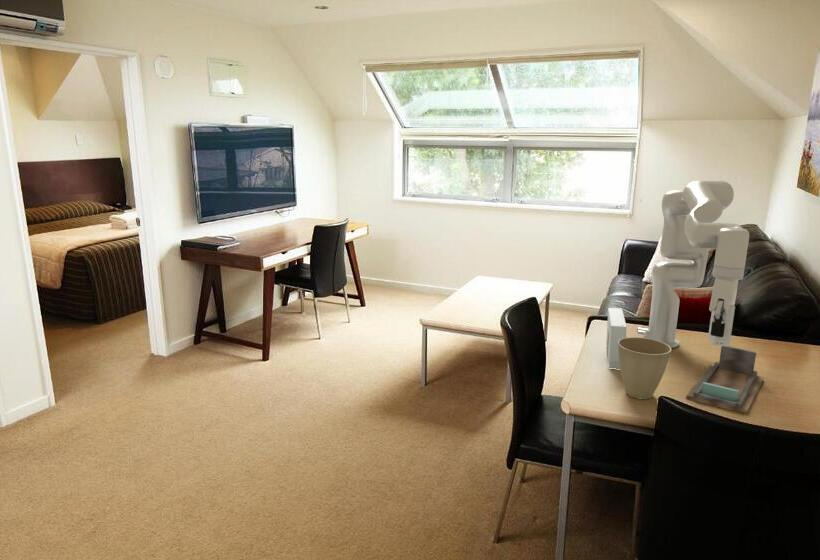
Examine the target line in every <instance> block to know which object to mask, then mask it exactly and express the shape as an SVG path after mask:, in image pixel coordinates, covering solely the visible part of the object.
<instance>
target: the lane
mask: <svg viewBox="0 0 820 560" xmlns="http://www.w3.org/2000/svg"><path fill="white" fill-rule="evenodd" d="M720 347H721V349H720V353H719V354H720V355H719V361H718V362H714V364H713V365H708V366H707V367H706V368H705V371H704V372H703V373H702V374H701V375H700V377H699V378H698V379H697V381H696V382H695V383H694V385H693V386H692V388H690V390H689V391H688V392H687V394H686V399H688V400H691V401H695V402H699V403H703V404H707V405H710V406H714V407H716V408H717V407H719V408H722V409H725V410H729V411H733V412H738V413H742V414H744V415H747V414H748V412H749V410H750V407H751V405H752V404H753V401H754V400H755V397H756V395H757V393H758V391H759V390H760V387H761V385H762V383H763V382H764V377H763V376H759V375H758V372H759V371H757V370H755V363H756V358H757V351H752V350H750V349H749V350H748V349H744V348H738V347H733V346H730V345H729V346H720ZM703 382H706V383H710V384H714V385H718V386H722V387H726V388H731V389H735V390H739V391H738V397H737V402H732V401H729V400H725V399H721V398H717V397H713V396H709V395H705V394H701V391H702V384H703Z"/></svg>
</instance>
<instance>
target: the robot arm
mask: <svg viewBox="0 0 820 560" xmlns="http://www.w3.org/2000/svg"><path fill="white" fill-rule="evenodd" d="M734 192H735V191H734V188H733V186H732V184H730V183H729V182H727V181H724V180H696V181H695V180H694V181H691V182H689V183H688V184H686V185H685V186H684V188H683V189H681V190H680V189H678V190H670V191H667V192H666V193H664V195H663V197H662V200H661V209H662V210H661V211H662V216H663V228H662V234H661V241H660V247H659V248H660V249H659V250H660V251H659V253H660V255H661V256H662V257H663V258H664V259H668V260H675V261H660V262H656V264H654V265H653V267H652V272H651V279H652V280H651V281H652V290H651V291H652V293H651V304H650V314H649V319H648V320H649V322H648V328H643V327H640V326H639V327H637V328H636V332H637V334H638V335H644V336H643V337H642V338H648V339H653V340H657V341H660V342H663V343H665V344H667V345H669V346H670V347H671V349H673V348H677V347H679V345H680V341H679V340H678V339H676V333H677V323H678V318H679V307H680V297H679V295H678V293H676V291H675V290H674V289H677V288H680V289H681V288H682V289H696V288H699V287H701V286H702V284H703V283H704V279H705V273H706V268H707V263H708V257H709V253H710V252H709V251H710V250H715V256H714V262H713V270H712V277H713V278H715V280H714V283H713V288H712V293H711V298H710V302H709V308H708V310H709V311H710V312H711V313H712V311H714V310H715V313H714V317H713V321H712V327H711V335H712V336H717V337H723V336H724V329H725V323H724V321H725V317H726V314H728V313H729V312H730V309H731V306H732V305H734V306H735V304H736V299H737V292H738V284H739V281H740V280H741V281H742V280H743V279H744V274H745V267H746V260H747V255H748V248H749V247H748V246H749V240H750V232H749V231H748V229H746V228H743V227H742V225H740V224H737V223H724V222H722V223H721V222H716V221H717V220H718V219H719V218H721V216H722V214H723V212H724V210H726V209H727V208H729V207H730V205H731V204H732V203H733V200H734V197H735V193H734ZM677 260H678V261H677ZM689 261H690V262H689ZM723 304H724V305H723ZM721 310H723V311H724V312H721ZM721 315H723V317H722V316H721Z"/></svg>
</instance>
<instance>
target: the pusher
mask: <svg viewBox="0 0 820 560" xmlns="http://www.w3.org/2000/svg"><path fill="white" fill-rule="evenodd" d="M738 391H739V390H735V389H731V388H726V387H722V386H718V385H714V384H710V383H706V382H703V384H702V391H701V394H705V395H709V396H713V397H717V398H721V399H725V400H729V401H732V402H737V397H738Z"/></svg>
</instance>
